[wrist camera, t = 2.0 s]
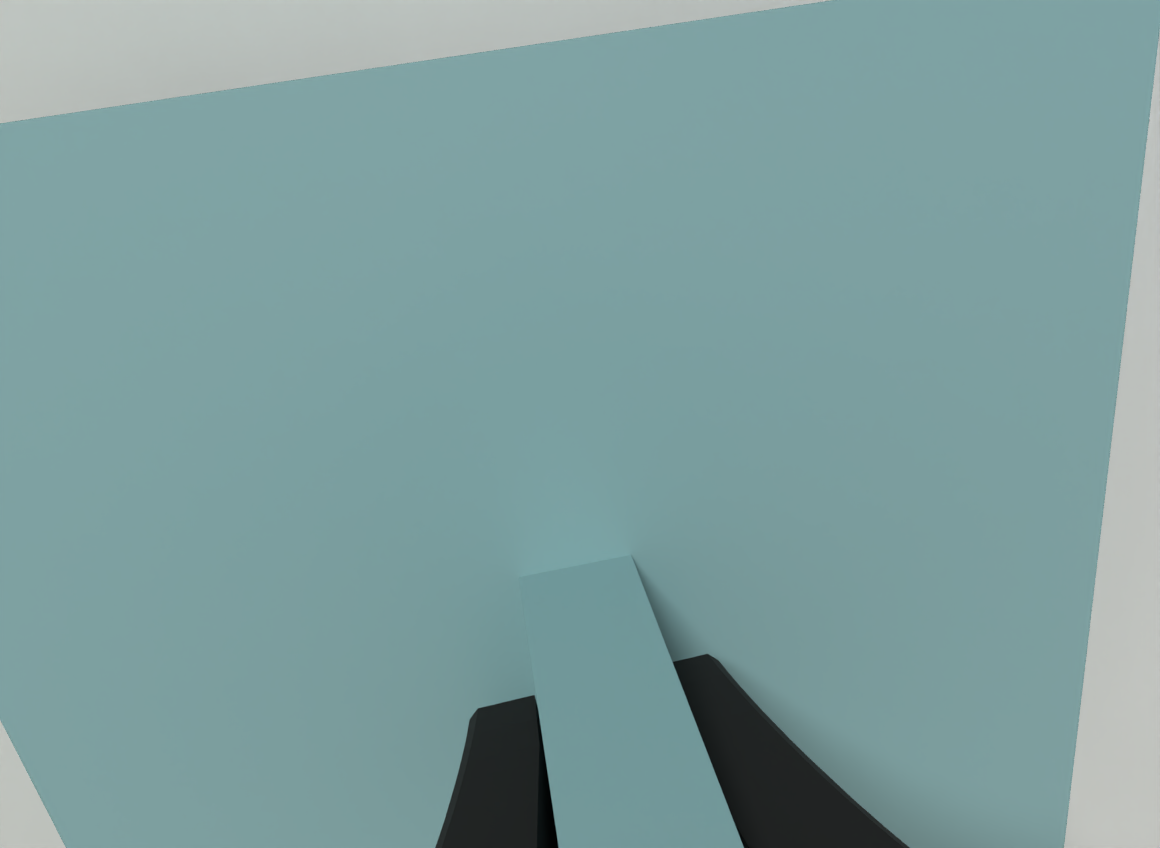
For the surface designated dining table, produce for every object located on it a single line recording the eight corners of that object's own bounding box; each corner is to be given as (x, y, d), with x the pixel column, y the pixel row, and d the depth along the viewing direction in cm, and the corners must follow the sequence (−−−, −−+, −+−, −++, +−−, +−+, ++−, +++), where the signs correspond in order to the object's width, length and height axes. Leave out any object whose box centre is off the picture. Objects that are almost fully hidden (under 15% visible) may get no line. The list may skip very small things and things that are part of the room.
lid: (1028, -27, 9) (1841, -158, 4) (972, 879, 15) (1279, 1350, 9) (-128, 144, 8) (-1174, 287, 3) (269, 1045, 14) (156, 1677, 8)
